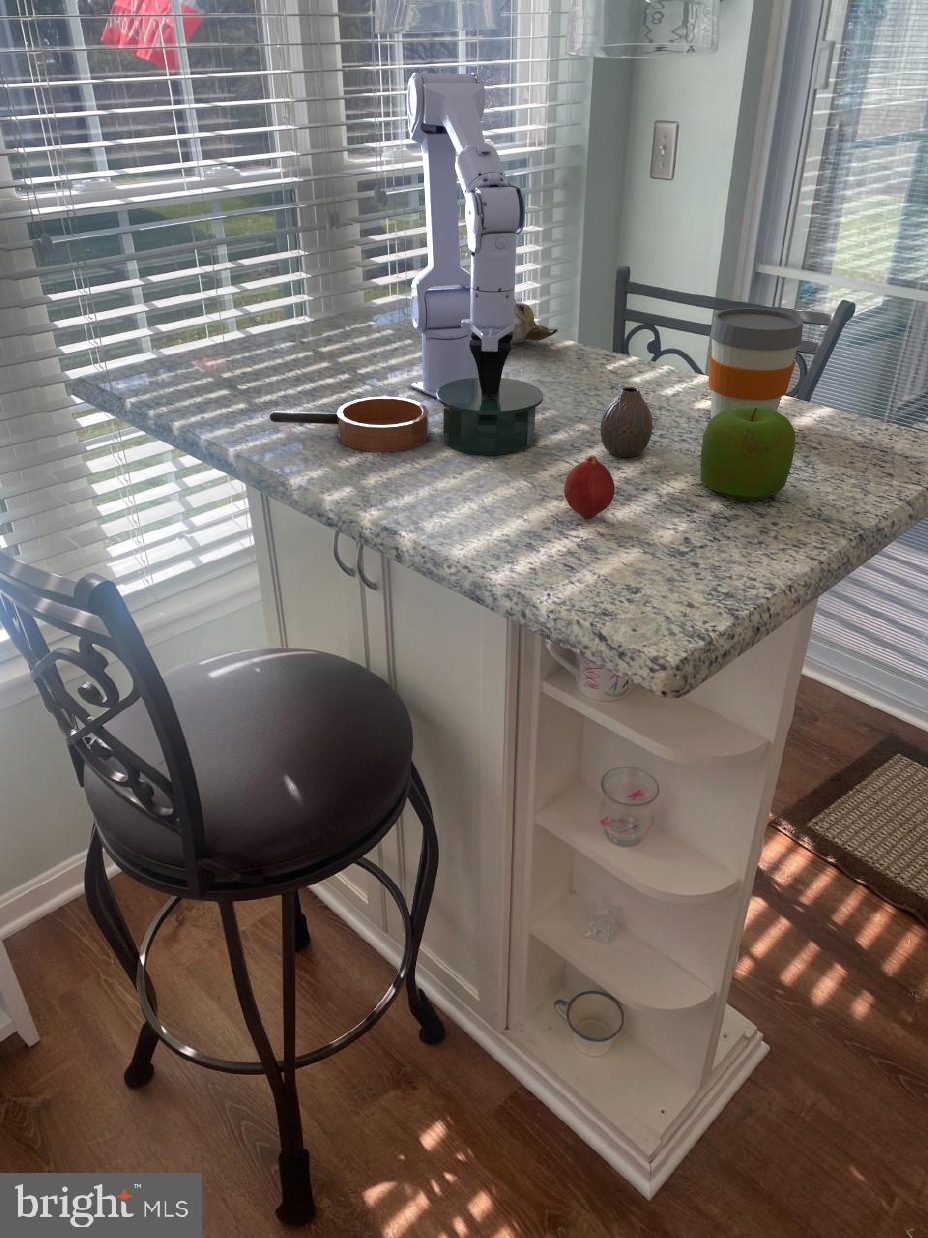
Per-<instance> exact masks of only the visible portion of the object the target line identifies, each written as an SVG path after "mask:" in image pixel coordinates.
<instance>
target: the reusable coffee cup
mask: <svg viewBox="0 0 928 1238" xmlns="http://www.w3.org/2000/svg"><path fill="white" fill-rule="evenodd" d="M713 317H714V318H713V322H712V325H711V330H710V333H709V336H710V338H711V352H710V353H709V355H708V388H709V389H710V390H711V391H710V420H711V419H712V418H713V417H714V416H715V415H717V414H718V413H720V412H721V411H724V410H727V409H730V408H735V407H741V406H759V407H764V408H769V409H772V410H774V411H776V412H778V410H779V407H780V403H781V400H782V398H783V397H784V396H785V395H786V394H787V392H788V389H789V385H790V382H791V378H792V377H793V372H794V369H795V367H796V363H797V362H796V360H795V357H796V354H797V351H798V347H800V345H802V340H803V330H804V329H803V327H804V321H803V319H802V318H800V316H797V315H796V314H792V313H788V312H785V311H780V310H775V309H768V308H767V309H766V308H755V307H738V308H736V307H735V308H728V309H727V308H726V309H723V310H719V311H717V312H716V313H715V314H714V316H713Z"/></svg>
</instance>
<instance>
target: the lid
mask: <svg viewBox="0 0 928 1238" xmlns="http://www.w3.org/2000/svg"><path fill="white" fill-rule="evenodd" d="M436 399H437V401H438V403H440V404H441V405H442V406H443V405H444V406H446V407H448V408H451V409H453V410H457V411H461V412H465V413H472V414H481V415H505V414H514V413H520V412H524V411H528V410H531V409H533V408H535V407H536V408H538V406H540V405H541V404H542V402H543V401H544V393H543V391H542V390H541V389H540V388H539V387H537V386H535V385H533V384H531V383H529V382H525V381H522V380H517V379H512V378H506V377H501V381H500V386H499V390H498V393H497V394H496V395H495V394H482V392H481V388H480V382H479V378H468V379H461V380H457V381H453V382H450V383H447V384H445V385H443V386H442V387H440V388H439V389H438V391H437V398H436Z"/></svg>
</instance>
